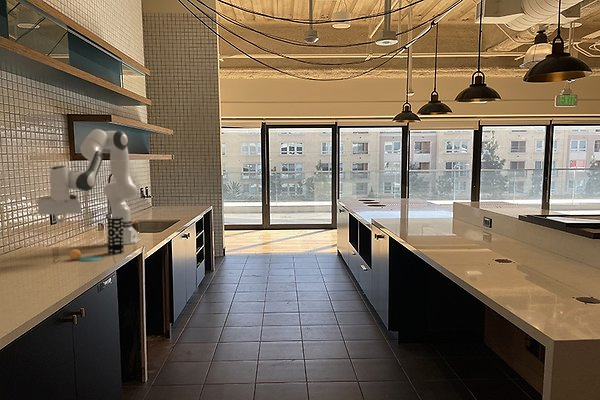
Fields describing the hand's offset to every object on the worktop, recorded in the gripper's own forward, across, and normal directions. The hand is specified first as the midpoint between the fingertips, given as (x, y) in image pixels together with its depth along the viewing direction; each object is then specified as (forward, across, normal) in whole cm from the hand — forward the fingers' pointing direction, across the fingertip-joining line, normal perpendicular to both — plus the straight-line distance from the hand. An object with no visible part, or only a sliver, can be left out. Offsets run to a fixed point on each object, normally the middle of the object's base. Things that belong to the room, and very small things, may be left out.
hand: (60, 222), depth 236 cm
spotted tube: (+19, +28, 0) cm, 34 cm away
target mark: (+19, +12, -10) cm, 25 cm away
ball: (+16, +6, -9) cm, 19 cm away
